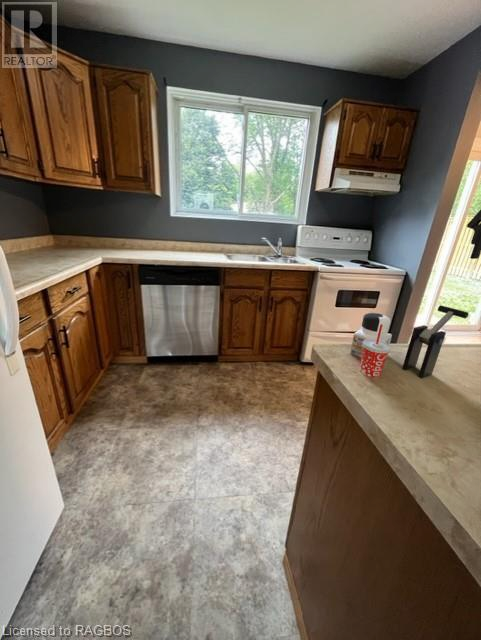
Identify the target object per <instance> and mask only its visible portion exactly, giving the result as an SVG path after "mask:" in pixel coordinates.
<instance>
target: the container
mask: <svg viewBox="0 0 481 640" xmlns="http://www.w3.org/2000/svg"><path fill="white" fill-rule="evenodd" d="M380 324H382V325H383V326H382V330H381V334H380V338H379V341H383V342H385V343H387V344H389V345H390V346H391V341H392V336H393V334H392V333H389V329H390V324H391V319H390V317H389V316H387V315H385V314H381V313H378V312H369V313H365V314H364V315H363V318H362V323H361V327H360V329H359V330H357V331H356V332H354V333H353V335H352V342H351V347H350V351H349V354H350V355H351V356H355V357H358V358H360V359H361V357H362V351H363V345H362V344H363V341H364V340H366V339H374V340H377V337H378V333H379V328H380Z"/></svg>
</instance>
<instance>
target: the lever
mask: <svg viewBox="0 0 481 640" xmlns="http://www.w3.org/2000/svg"><path fill="white" fill-rule="evenodd" d="M437 311H438V312H440V313H443V314H444V315H443V316H442V317H441V318H440V319H439V320H438V321H437V322H436V323H435V324H434V325H433V326H432V327H431V328H430V329H429V328H426V329H425V330H424V331H423V332H422V333H421V334H420V335H419V340H420V342H421V343H423V345H426V346H428V344H429V341H430V337H431V334H433V333H437V332H440V331H441V329H442V328H443V327H444V326H445V325H446V324H447V323H448V322H449V321H450V320H451V319H452V318H453V317H454V316H455V317H458V318H461V319H467V318H468V316H469V311H464V310H461V309H456V308H453V307H449V306H445V305H442V304H441V305H439V306H438V308H437Z"/></svg>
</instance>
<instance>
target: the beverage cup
mask: <svg viewBox="0 0 481 640" xmlns="http://www.w3.org/2000/svg"><path fill="white" fill-rule="evenodd" d="M382 326H383V325H382V324H380V328H379V333H378V337H377V340H374V339H366V340H364V341H363V344H362V345H363V351H362V357H361V358H360V363H359V364H360V365H359V372H360V373H361V374H362V375H364V376H366V377H368V378H369V377H370V378H379V377H381V375H382V372H383V369H384V367H385V364H386V361H387V358H388V356H389V355H388V354H389V353H390V352H391V350H392V345H391V344H390V345H389V344H387V343H385V342H383V341H379V338H380V334H381V330H382Z"/></svg>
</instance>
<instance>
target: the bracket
mask: <svg viewBox="0 0 481 640" xmlns="http://www.w3.org/2000/svg"><path fill="white" fill-rule="evenodd" d="M426 328H427V329H429V326H428V325H425V324H423V325H419V326H416V327H413V330H412V332H411V337H410V340H409V343H408V347H407V351H406V353H405V357H404V360H403V364H402V368H401V370H403V371H404V372H407V371H410V370H412V369H415V368H416V367H417V364H418V361H419V357H420V354H421V350H422V348H423V345H424V344H423V343H421V342H420V340H419V335H420V334H421V333H422V332H423V331H424V330H425V329H426ZM446 334H447V332H446V331H442V330H439V331H438V332H437V333H433V334H431V337H430V341H429V344H428V345H427V347H426V351H425V353H424V356H423V358H422V359H423V360H422V363H421V366H420V369H419V372H418V375H417V378H418V379H420V380H422V379H425V378H428V377H430V376H432V375H433V372H434V369H435V367H436V363H437V361H438V357H439V354H440V351H441V348H442V346H443V342H444V340H445V337H446Z"/></svg>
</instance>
